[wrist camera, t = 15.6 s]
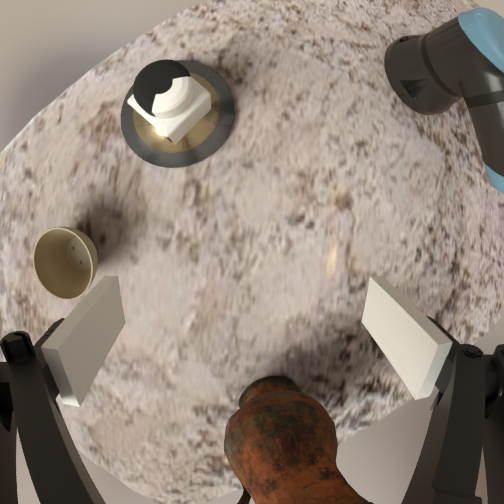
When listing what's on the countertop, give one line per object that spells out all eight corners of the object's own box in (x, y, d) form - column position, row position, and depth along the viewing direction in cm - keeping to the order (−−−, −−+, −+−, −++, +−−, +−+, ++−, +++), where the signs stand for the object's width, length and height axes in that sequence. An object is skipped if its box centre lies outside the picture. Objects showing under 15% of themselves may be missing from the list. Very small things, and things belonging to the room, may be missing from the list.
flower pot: (63, 211, 39) (39, 216, 32) (118, 234, 41) (101, 243, 34) (50, 270, 40) (27, 283, 33) (101, 293, 42) (84, 312, 35)
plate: (235, 63, 37) (236, 59, 36) (232, 167, 41) (232, 167, 39) (128, 67, 35) (125, 63, 34) (120, 170, 39) (117, 169, 37)
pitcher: (328, 396, 52) (395, 519, 23) (239, 447, 52) (259, 572, 23) (282, 342, 48) (350, 495, 18) (184, 404, 48) (175, 552, 19)
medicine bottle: (139, 114, 36) (112, 89, 24) (176, 77, 35) (163, 40, 24) (175, 146, 38) (158, 130, 26) (212, 108, 37) (211, 79, 26)
